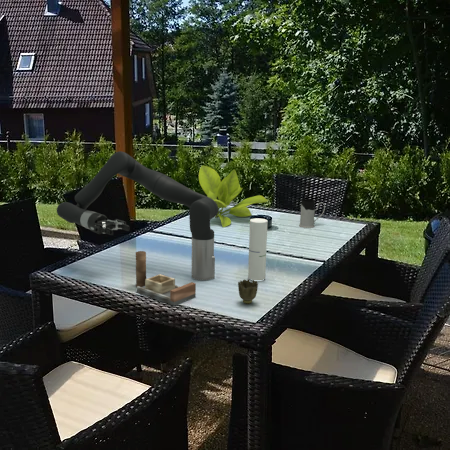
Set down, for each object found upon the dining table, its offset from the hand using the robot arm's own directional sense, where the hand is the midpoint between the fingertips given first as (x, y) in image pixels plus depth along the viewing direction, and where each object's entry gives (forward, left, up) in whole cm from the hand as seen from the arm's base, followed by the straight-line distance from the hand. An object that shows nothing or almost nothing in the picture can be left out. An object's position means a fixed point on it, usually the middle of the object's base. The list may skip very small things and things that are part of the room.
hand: (120, 230), depth 224 cm
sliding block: (-14, +16, -19) cm, 29 cm away
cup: (-45, +31, -21) cm, 58 cm away
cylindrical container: (-55, +6, -21) cm, 59 cm away
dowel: (-7, +8, -21) cm, 24 cm away
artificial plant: (-63, -95, -21) cm, 116 cm away
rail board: (-16, +18, -21) cm, 32 cm away
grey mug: (-108, -74, -21) cm, 133 cm away
